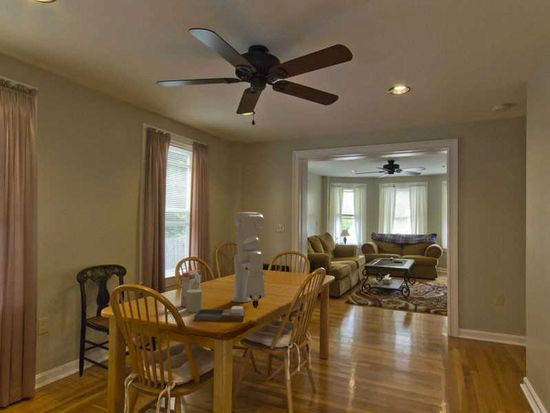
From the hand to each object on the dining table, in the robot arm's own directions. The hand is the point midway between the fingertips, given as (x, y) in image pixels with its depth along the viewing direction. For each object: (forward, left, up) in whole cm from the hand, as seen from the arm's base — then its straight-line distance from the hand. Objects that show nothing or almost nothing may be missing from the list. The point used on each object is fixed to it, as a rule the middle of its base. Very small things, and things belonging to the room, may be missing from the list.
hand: (255, 307), depth 191 cm
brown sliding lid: (0, -12, -6) cm, 13 cm away
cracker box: (-27, -42, -6) cm, 50 cm away
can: (-14, -37, -6) cm, 40 cm away
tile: (0, -10, -3) cm, 10 cm away
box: (0, -25, -6) cm, 26 cm away
